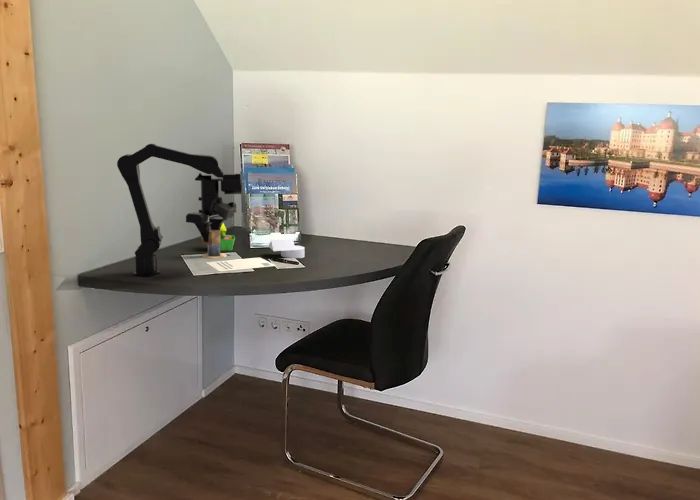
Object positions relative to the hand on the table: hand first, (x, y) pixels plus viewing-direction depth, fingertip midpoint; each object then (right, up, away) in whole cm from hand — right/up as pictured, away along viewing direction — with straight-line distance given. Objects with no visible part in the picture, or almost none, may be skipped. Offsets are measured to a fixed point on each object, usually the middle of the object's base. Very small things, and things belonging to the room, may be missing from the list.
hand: (210, 240), depth 209 cm
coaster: (-5, -6, +26) cm, 27 cm away
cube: (0, -1, 0) cm, 1 cm away
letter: (+7, -8, +15) cm, 19 cm away
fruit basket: (-5, -3, +40) cm, 40 cm away
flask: (-5, -5, +26) cm, 27 cm away
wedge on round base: (+23, -6, +31) cm, 39 cm away
